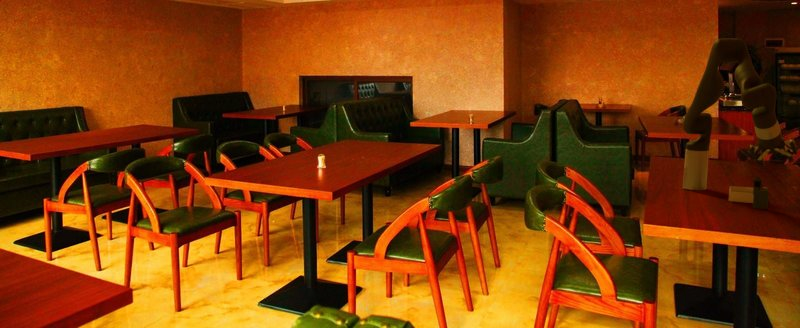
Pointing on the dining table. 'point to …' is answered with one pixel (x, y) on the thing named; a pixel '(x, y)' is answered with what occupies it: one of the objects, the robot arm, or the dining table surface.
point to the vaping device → (760, 195)
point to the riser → (741, 194)
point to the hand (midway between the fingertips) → (776, 163)
